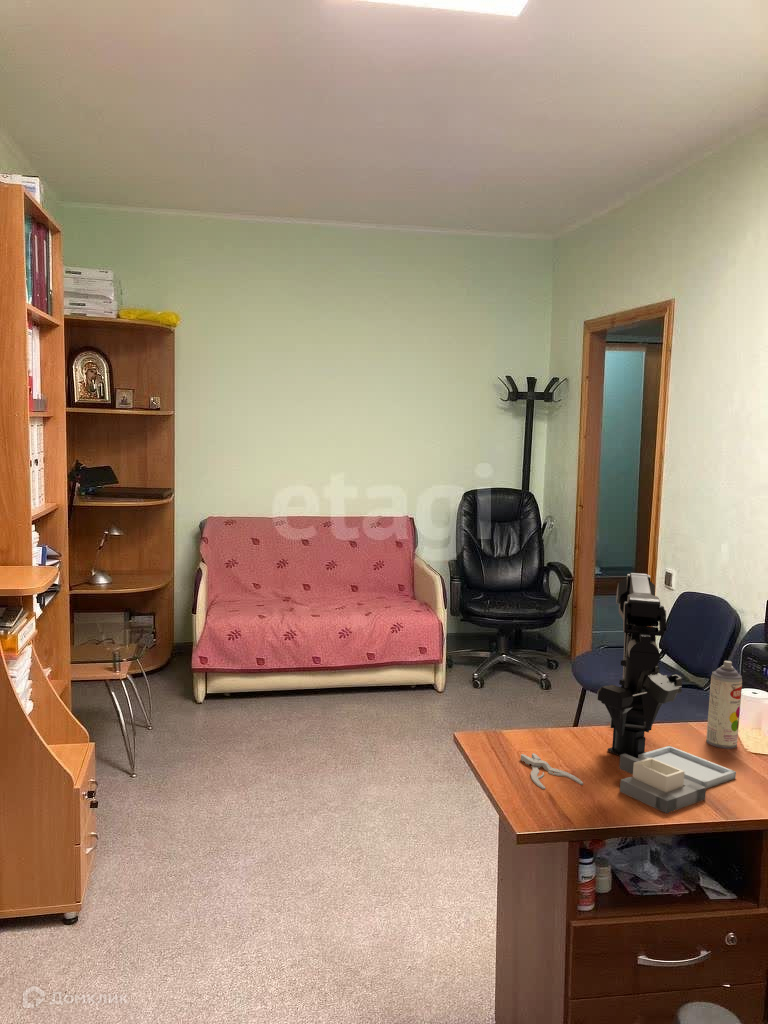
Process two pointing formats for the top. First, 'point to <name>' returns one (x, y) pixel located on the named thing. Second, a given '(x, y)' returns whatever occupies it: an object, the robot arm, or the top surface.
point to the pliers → (538, 763)
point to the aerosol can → (724, 707)
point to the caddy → (653, 772)
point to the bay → (663, 794)
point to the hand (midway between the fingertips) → (634, 730)
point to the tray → (692, 766)
